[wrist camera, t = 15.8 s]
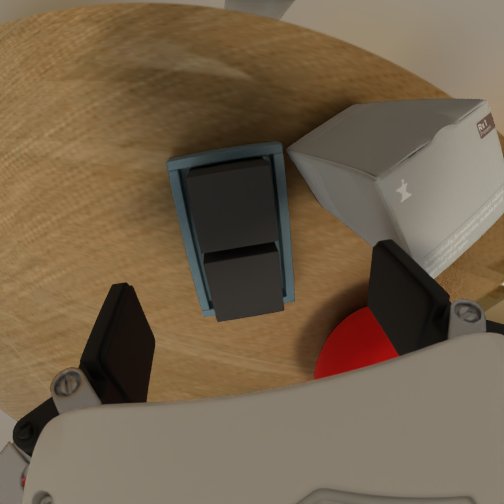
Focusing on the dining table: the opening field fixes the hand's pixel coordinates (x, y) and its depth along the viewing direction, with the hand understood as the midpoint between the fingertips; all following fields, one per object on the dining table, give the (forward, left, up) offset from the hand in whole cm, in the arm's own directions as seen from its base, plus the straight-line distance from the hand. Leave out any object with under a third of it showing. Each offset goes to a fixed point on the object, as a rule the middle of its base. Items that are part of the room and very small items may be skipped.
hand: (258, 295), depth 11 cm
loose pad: (+1, 0, -15) cm, 15 cm away
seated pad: (+7, 0, -15) cm, 17 cm away
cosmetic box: (-2, +10, -16) cm, 19 cm away
